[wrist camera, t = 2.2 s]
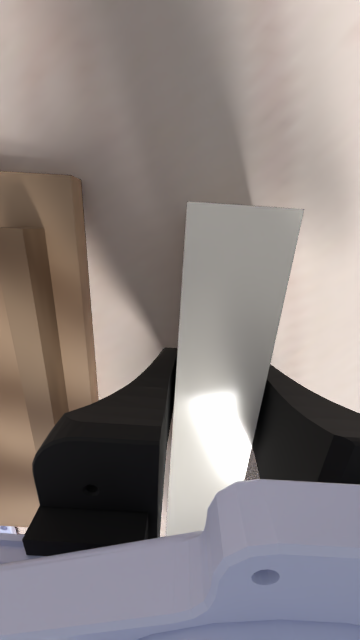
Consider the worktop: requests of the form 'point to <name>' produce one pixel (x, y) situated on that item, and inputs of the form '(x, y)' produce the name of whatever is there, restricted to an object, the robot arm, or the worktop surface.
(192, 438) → the white rectangular block
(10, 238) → the railed tan base plate
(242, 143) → the worktop surface
